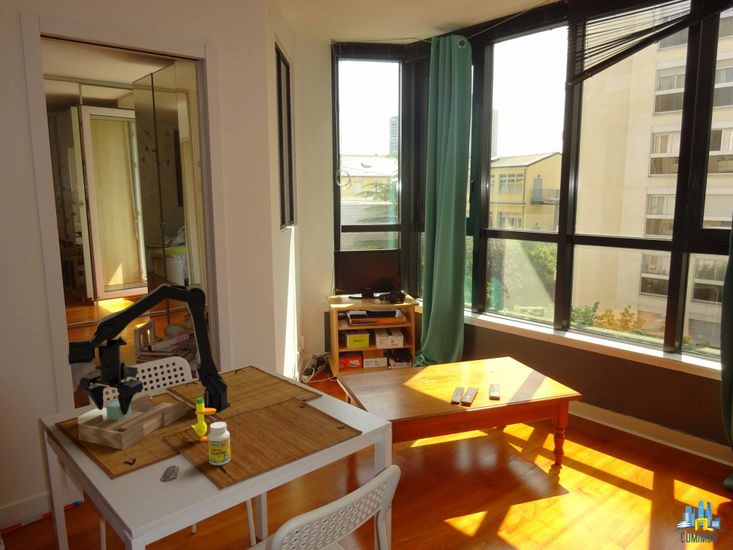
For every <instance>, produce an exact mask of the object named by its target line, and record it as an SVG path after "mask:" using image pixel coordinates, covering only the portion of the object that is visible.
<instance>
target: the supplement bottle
mask: <svg viewBox="0 0 733 550" xmlns="http://www.w3.org/2000/svg"><path fill="white" fill-rule="evenodd" d="M209 430H210V432H209V433H208V436H207V437H208V439H207V446H208V448H207V450H208V462H209V463H210V465H213V466H222V465H225V464H227V463H229V462H230V460H231V458H232V457H231V455H232V454H231V437H230V435H231V434H230V431H229V430H228V425H227V423H226V422H225V421H216V422H213V423H211V424H210V425H209Z"/></svg>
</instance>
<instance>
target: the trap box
mask: <svg viewBox="0 0 733 550" xmlns="http://www.w3.org/2000/svg"><path fill="white" fill-rule="evenodd" d="M149 398H150V395H149V393H145V394H143V395H141V396H139V397H137V398H135V399H132V400H131V403H130V404H131V415H130V416H128V417H126V418H124V419H122V420H120V421H117V420H112V419H106V420H104V421H103V415H99V416H97V417H94V418H92V419H90V420H88V421H86V422H83V423H81V424H78V425H77V427H78V437H79V438H78V440H79V441H84V442H87V443H88V442H89V443H91V444H92V443H93V444H97V445H101V446H104V447H109V448H114V449H117V450H122V451H123V450H125V449H127V448H129V447H130V446H133V445H134V444H136V443H137V442H139V441H141V440H143V439H145V436H147V435H149V434H151V433H152V432H154V431H156V430H157V429H160V428H162V427H166V426H168V425H170V424H172V423H174V422H176V421H177V420H179V419H181V418H183V417H184V416H186V415H187V414H188V409H187V407H188V406H187V400H183V401H180V402H179V403H177V404H176V403H171V402H170V403H169V402H162V403H160V404H158V405H156V406H150V399H149Z"/></svg>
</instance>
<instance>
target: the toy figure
mask: <svg viewBox="0 0 733 550" xmlns="http://www.w3.org/2000/svg"><path fill="white" fill-rule="evenodd" d="M195 405H196V406H195V407H196V408H195V409H196V410H195V412H194V414H195V415H196V417H197V423H196V424H195V425H191V427H192V429H193V430H194V431H195V433H196V434H197V435H198V437H200V439H199V442H208V436H206V435H205V434H206V433H207V431H208V425H207V423H206V422H205V415H206V416H207V415H214V414H215V413H217V412H216V409H214V408H204V406H205V405H204V400H203V397H197V398H196V402H195Z"/></svg>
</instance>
